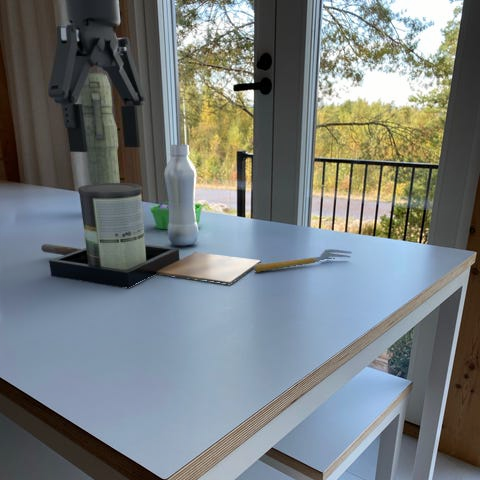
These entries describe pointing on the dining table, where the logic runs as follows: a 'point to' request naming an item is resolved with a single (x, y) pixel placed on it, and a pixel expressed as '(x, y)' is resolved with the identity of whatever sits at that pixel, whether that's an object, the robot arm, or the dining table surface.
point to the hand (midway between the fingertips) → (107, 149)
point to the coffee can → (113, 224)
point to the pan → (78, 268)
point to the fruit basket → (162, 214)
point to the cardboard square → (209, 267)
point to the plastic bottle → (181, 197)
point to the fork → (300, 260)
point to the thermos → (100, 130)
